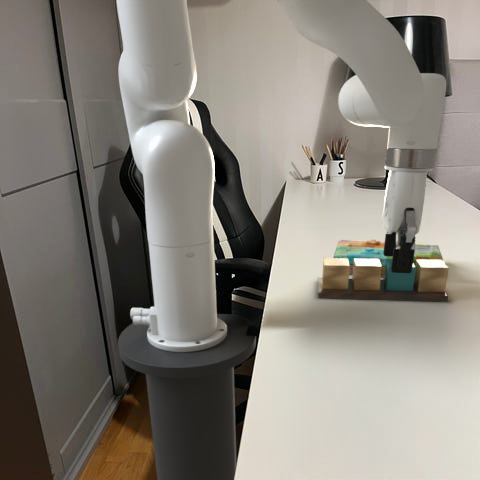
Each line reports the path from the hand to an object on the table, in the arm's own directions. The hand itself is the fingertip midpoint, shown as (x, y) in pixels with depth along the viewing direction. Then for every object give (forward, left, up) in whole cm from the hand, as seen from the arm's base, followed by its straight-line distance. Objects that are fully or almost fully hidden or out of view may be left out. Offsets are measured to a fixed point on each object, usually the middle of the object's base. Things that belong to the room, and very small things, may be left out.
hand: (396, 263), depth 86 cm
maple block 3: (+6, 0, -4) cm, 7 cm away
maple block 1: (-10, 0, -4) cm, 11 cm away
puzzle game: (0, +13, -6) cm, 15 cm away
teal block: (+1, 0, -4) cm, 4 cm away
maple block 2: (-5, 0, -4) cm, 7 cm away
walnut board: (-2, 0, -5) cm, 6 cm away
